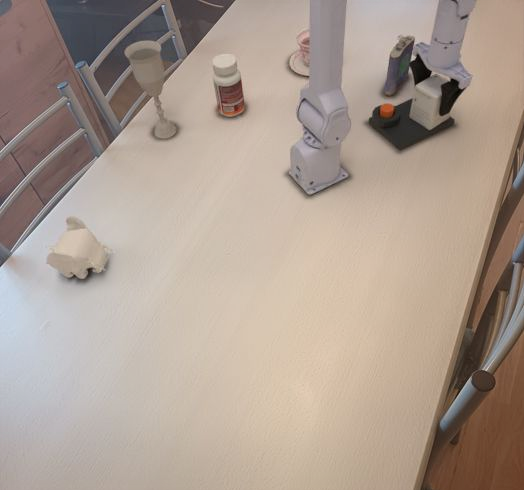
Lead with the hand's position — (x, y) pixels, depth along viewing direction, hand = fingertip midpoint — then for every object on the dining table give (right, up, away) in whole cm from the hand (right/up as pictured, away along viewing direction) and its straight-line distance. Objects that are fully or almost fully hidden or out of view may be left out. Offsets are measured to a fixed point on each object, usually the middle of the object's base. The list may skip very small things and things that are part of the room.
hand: (432, 104), depth 103 cm
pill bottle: (-42, +5, +12) cm, 44 cm away
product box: (0, -2, +3) cm, 3 cm away
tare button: (-9, -1, +3) cm, 9 cm away
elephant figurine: (-68, -35, -9) cm, 77 cm away
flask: (-4, +10, +12) cm, 16 cm away
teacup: (-23, +19, +19) cm, 35 cm away
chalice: (-57, -1, +10) cm, 58 cm away
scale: (-3, -2, +4) cm, 6 cm away
